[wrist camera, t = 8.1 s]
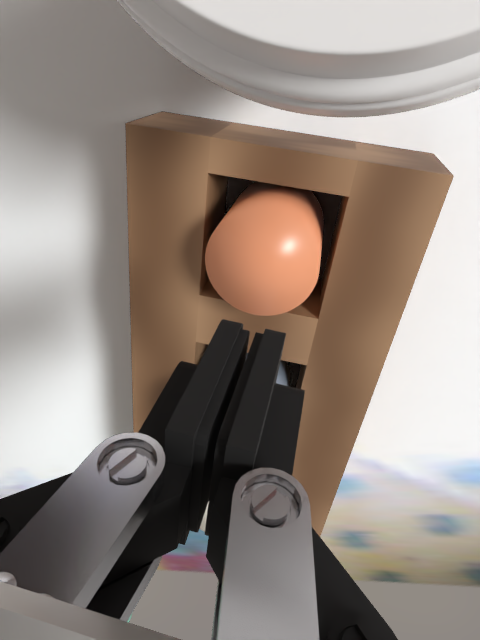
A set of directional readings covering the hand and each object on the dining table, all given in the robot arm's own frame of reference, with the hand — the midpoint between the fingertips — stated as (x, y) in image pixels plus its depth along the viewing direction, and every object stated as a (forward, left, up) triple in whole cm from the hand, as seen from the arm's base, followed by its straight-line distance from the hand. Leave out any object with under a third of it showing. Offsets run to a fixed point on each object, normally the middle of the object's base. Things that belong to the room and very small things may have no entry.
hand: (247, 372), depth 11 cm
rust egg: (+1, 0, -11) cm, 11 cm away
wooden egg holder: (+1, +8, -12) cm, 14 cm away
